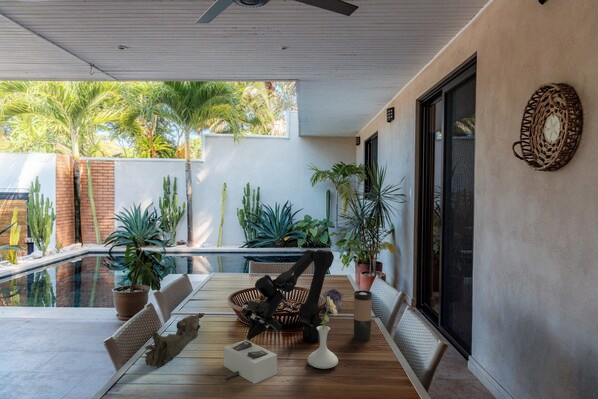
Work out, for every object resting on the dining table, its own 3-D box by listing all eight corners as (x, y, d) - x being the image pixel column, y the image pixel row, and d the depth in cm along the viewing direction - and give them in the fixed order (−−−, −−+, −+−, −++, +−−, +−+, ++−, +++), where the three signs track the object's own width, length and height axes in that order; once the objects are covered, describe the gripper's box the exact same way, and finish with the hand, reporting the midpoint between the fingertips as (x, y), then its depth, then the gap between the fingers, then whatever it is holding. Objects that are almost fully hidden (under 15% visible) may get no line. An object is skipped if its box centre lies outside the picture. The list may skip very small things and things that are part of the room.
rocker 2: (260, 353, 142) (261, 350, 142) (267, 357, 139) (267, 353, 139) (247, 355, 137) (248, 351, 138) (254, 358, 135) (254, 355, 135)
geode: (345, 313, 208) (343, 295, 207) (323, 315, 208) (321, 297, 208) (343, 301, 228) (341, 284, 227) (323, 303, 229) (321, 286, 228)
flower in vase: (329, 374, 139) (330, 304, 138) (301, 366, 145) (302, 299, 144) (345, 361, 150) (346, 296, 149) (319, 354, 156) (320, 291, 155)
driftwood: (142, 375, 133) (142, 331, 134) (196, 340, 184) (196, 309, 186) (157, 375, 132) (157, 331, 134) (207, 340, 184) (207, 309, 186)
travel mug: (372, 336, 176) (373, 291, 175) (368, 342, 169) (369, 295, 168) (356, 333, 179) (357, 289, 178) (351, 339, 172) (351, 293, 172)
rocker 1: (246, 343, 148) (245, 340, 148) (251, 345, 146) (251, 343, 145) (233, 350, 144) (232, 347, 144) (238, 353, 142) (238, 350, 141)
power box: (245, 357, 152) (245, 339, 151) (276, 374, 139) (277, 354, 139) (211, 370, 141) (211, 350, 141) (242, 389, 128) (242, 367, 128)
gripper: (244, 287, 156) (220, 321, 149) (276, 297, 143) (251, 334, 136) (260, 303, 162) (237, 336, 155) (291, 314, 149) (268, 351, 141)
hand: (247, 339), depth 146 cm, fingers closed
